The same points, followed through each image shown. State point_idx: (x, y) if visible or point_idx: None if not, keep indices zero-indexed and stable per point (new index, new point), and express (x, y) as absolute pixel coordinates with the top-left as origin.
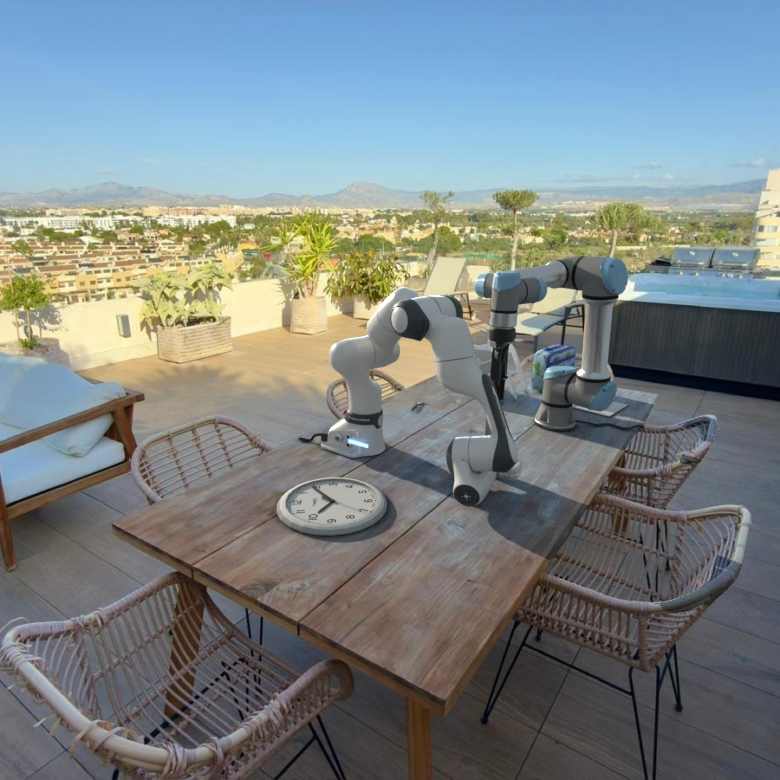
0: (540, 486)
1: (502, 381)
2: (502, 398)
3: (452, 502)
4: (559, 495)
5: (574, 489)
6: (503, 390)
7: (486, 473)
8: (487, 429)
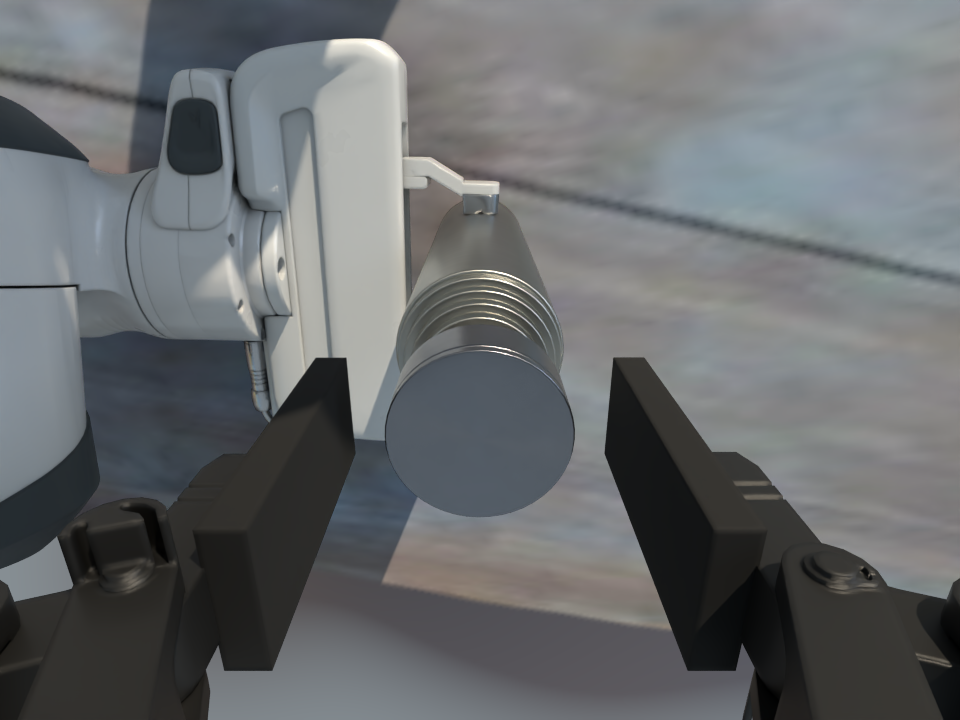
0: None
1: (683, 611)
2: (491, 499)
3: (98, 141)
4: (403, 519)
5: (477, 558)
6: (635, 528)
7: (81, 324)
8: (424, 270)
